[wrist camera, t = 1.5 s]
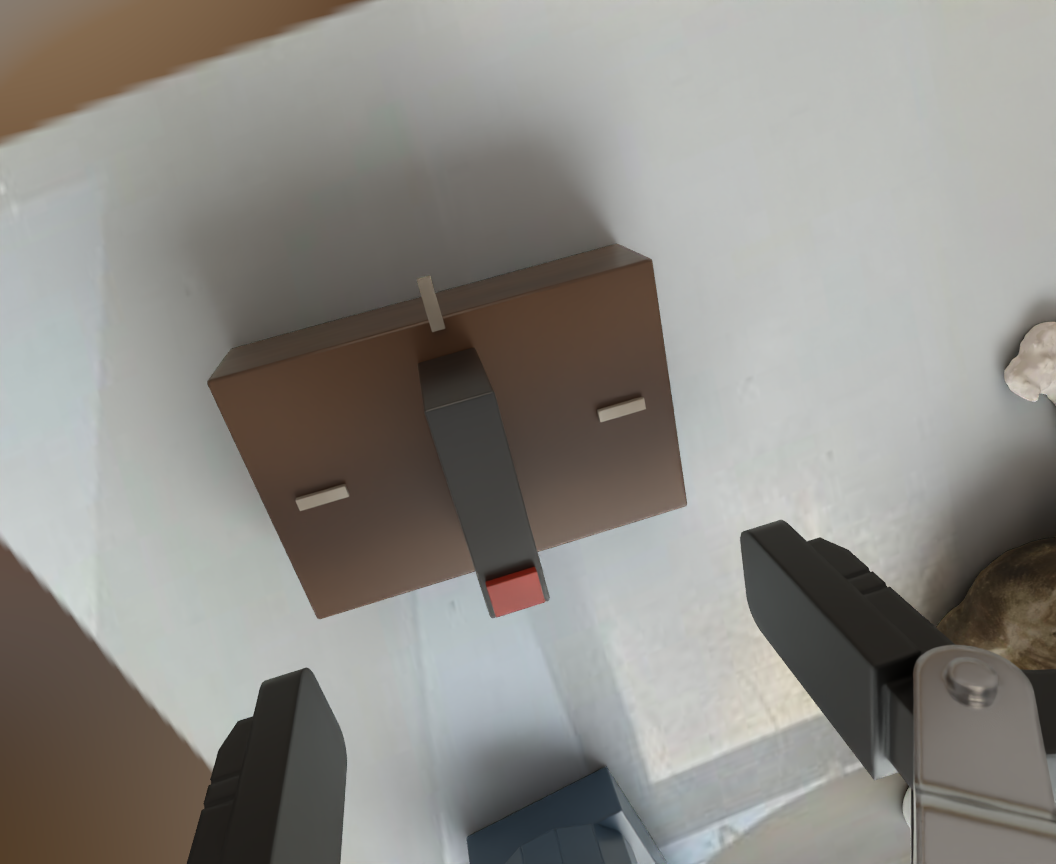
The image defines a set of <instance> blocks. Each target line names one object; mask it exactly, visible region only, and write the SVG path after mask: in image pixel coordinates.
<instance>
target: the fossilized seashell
mask: <svg viewBox="0 0 1056 864" xmlns="http://www.w3.org/2000/svg"><path fill="white" fill-rule="evenodd" d="M936 628H937V629H938V630H939V631H940V632H942V633H943V634H944V635H945V636H946V637H947V638H948V639H950V640H951V641H952V642H953V643H954V644H955V645H966V646H973V647H978V648H981V649H985V650H988V651H991V652H993V653H995V654H998V655H1000V656H1002V657H1004V658H1005V659H1007V660H1009V661H1010V662H1012V663H1013V664H1014V665H1016V666H1017V667H1018V668H1019V669H1022V670H1044V669H1056V538H1047V539H1040V540H1037V541H1032V542H1030V543H1027V544H1024V545H1022V546H1020V547H1018V548H1014V549H1011V550H1009V551H1006V552H1005V553H1003V554H1002V555H1001V556H999V557H998V558H997V559H995V560H994V561H993V562H992V563H991V564H990V565H989V566H987V567H986V568H985V569H984V570H982V571H981V572H980V573H979V575H978V576H977V578H976V579H975V581H974V583H973V585H972V586H971V587H970V589H969V590H968V593H967V595H966V597H965V599H964V600H963V601H962V602H961V603H960V604H959V605H958V606H957V607H955V608H953V609H952V610H951V611H950V612H948V613H947V614H946V615H945V617H944V618H943V619H942V620H941V621H940V623H939V624H938V626H937V627H936Z"/></svg>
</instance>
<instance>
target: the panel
mask: <svg viewBox="0 0 1056 864" xmlns="http://www.w3.org/2000/svg"><path fill="white" fill-rule="evenodd" d="M416 280H417V284H418V287H419V290H420V294H421V297H418V298H415V299H411V300H407V301H404V302H400V303H396V304H393V305H389V306H385V307H382V308H378V309H374V310H371V311H367V312H363V313H360V314H356V315H352V316H349V317H345V318H341V319H338V320H334V321H330V322H327V323H323V324H319V325H316V326H312V327H308V328H305V329H301V330H297V331H294V332H290V333H286V334H283V335H279V336H275V337H272V338H268V339H264V340H261V341H257V342H253V343H250V344H246V345H242V346H239V347H235V348H232V349H231V350H230V351H229V352H228V353H227V355H226V356H225V358H224V359H223V360H222V362H221V363H220V364H219V366H218V367H217V369H216V370H215V371H214V373H213V374H212V375H211V377H210V378H209V380H208V381H207V384H208V386H209V388H210V391H211V393H212V395H213V397H214V399H215V401H216V403H217V406H218V408H219V410H220V412H221V414H222V416H223V418H224V420H225V423H226V425H227V427H228V429H229V431H230V433H231V435H232V438H233V440H234V442H235V444H236V446H237V448H238V450H239V452H240V455H241V457H242V459H243V461H244V463H245V465H246V467H247V470H248V472H249V474H250V476H251V478H252V480H253V482H254V484H255V487H256V489H257V491H258V493H259V495H260V497H261V499H262V502H263V504H264V506H265V508H266V510H267V512H268V514H269V516H270V519H271V521H272V523H273V525H274V527H275V529H276V531H277V534H278V536H279V538H280V540H281V542H282V544H283V546H284V548H285V551H286V553H287V555H288V557H289V559H290V561H291V563H292V566H293V568H294V570H295V572H296V574H297V576H298V578H299V580H300V583H301V585H302V587H303V589H304V591H305V593H306V595H307V598H308V600H309V602H310V604H311V606H312V608H313V610H314V612H315V615H316V617H317V618H318V619H322V618H326V617H329V616H332V615H335V614H339V613H342V612H345V611H348V610H351V609H355V608H358V607H361V606H364V605H368V604H371V603H374V602H377V601H381V600H384V599H387V598H390V597H394V596H397V595H400V594H403V593H406V592H410V591H413V590H416V589H419V588H423V587H426V586H429V585H432V584H436V583H439V582H442V581H445V580H449V579H452V578H455V577H458V576H461V575H465V574H468V573H471V572H474V571H475V568H474V565H473V562H472V559H471V556H470V553H469V550H468V546H467V543H466V540H465V537H464V534H463V531H462V528H461V525H460V522H459V519H458V515H457V512H456V509H455V506H454V503H453V500H452V497H451V494H450V491H449V488H448V484H447V481H446V478H445V475H444V472H443V469H442V466H441V463H440V460H439V457H438V453H437V450H436V447H435V444H434V441H433V438H432V435H431V432H430V429H429V426H428V422H427V419H426V416H425V413H424V407H423V400H422V393H421V386H420V380H419V373H418V366H417V365H418V363H420V362H423V361H427V360H431V359H434V358H438V357H441V356H445V355H448V354H452V353H456V352H459V351H463V350H466V349H470V348H475V349H476V351H477V353H478V355H479V358H480V360H481V362H482V364H483V367H484V369H485V371H486V374H487V376H488V378H489V381H490V383H491V385H492V387H493V390H494V392H495V396H496V399H497V403H498V407H499V411H500V414H501V418H502V422H503V425H504V429H505V433H506V437H507V440H508V444H509V448H510V452H511V455H512V459H513V463H514V466H515V470H516V474H517V478H518V481H519V485H520V489H521V493H522V496H523V500H524V504H525V507H526V511H527V515H528V519H529V522H530V526H531V530H532V534H533V537H534V541H535V545H536V548H537V552H539V551H542V550H546V549H549V548H552V547H555V546H559V545H562V544H565V543H568V542H571V541H575V540H578V539H581V538H584V537H588V536H591V535H594V534H597V533H601V532H604V531H607V530H610V529H614V528H617V527H620V526H623V525H626V524H630V523H633V522H636V521H639V520H643V519H646V518H649V517H652V516H656V515H659V514H662V513H665V512H669V511H672V510H675V509H678V508H681V507H685V506H686V505H687V500H686V493H685V486H684V479H683V472H682V465H681V458H680V451H679V444H678V437H677V430H676V423H675V416H674V409H673V402H672V395H671V388H670V381H669V374H668V367H667V360H666V353H665V346H664V339H663V332H662V325H661V318H660V311H659V304H658V297H657V290H656V284H655V277H654V270H653V263H652V260H651V259H650V258H648V257H646V256H644V255H641V254H639V253H637V252H635V251H633V250H630V249H628V248H626V247H624V246H622V245H619V244H613V245H609V246H605V247H602V248H598V249H594V250H591V251H587V252H583V253H580V254H576V255H572V256H569V257H565V258H561V259H558V260H554V261H550V262H547V263H543V264H539V265H536V266H532V267H528V268H525V269H521V270H517V271H514V272H510V273H506V274H503V275H499V276H495V277H492V278H488V279H484V280H481V281H477V282H473V283H470V284H466V285H462V286H459V287H455V288H451V289H448V290H444V291H440V292H437V293H435V290H434V287H433V284H432V280H431V277H430V275H428V276H425V277H421V278H417V279H416Z"/></svg>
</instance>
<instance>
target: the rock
mask: <svg viewBox="0 0 1056 864" xmlns="http://www.w3.org/2000/svg"><path fill="white" fill-rule="evenodd" d="M1004 379H1005V382H1006V383H1007V384H1008V386H1009V388H1010V390H1011V391H1012V392H1013V393H1015V394H1017V395H1018V396H1020V397H1022V398H1024V399H1026V400H1029V401H1033V402H1034V401H1037V400H1038V398H1039V397H1038V396H1039V394H1040V393H1041V394H1046V395H1047V396H1048V398H1049V399H1050V400H1051V401H1052V402H1053V403H1054V404H1055V405H1056V322H1044V323H1041V324H1038V325H1036V326H1034V327H1033V328H1032V329H1031V330H1030V331H1029V332H1028V333H1027V334H1026V335H1025V338H1024V339H1023V341H1022V342H1021V343H1020V351H1019V354H1018V356H1017V357H1015V358H1014V359H1012V361H1011V362H1010V365H1009V366H1008V367H1007V368H1006V369H1005V371H1004Z"/></svg>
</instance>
